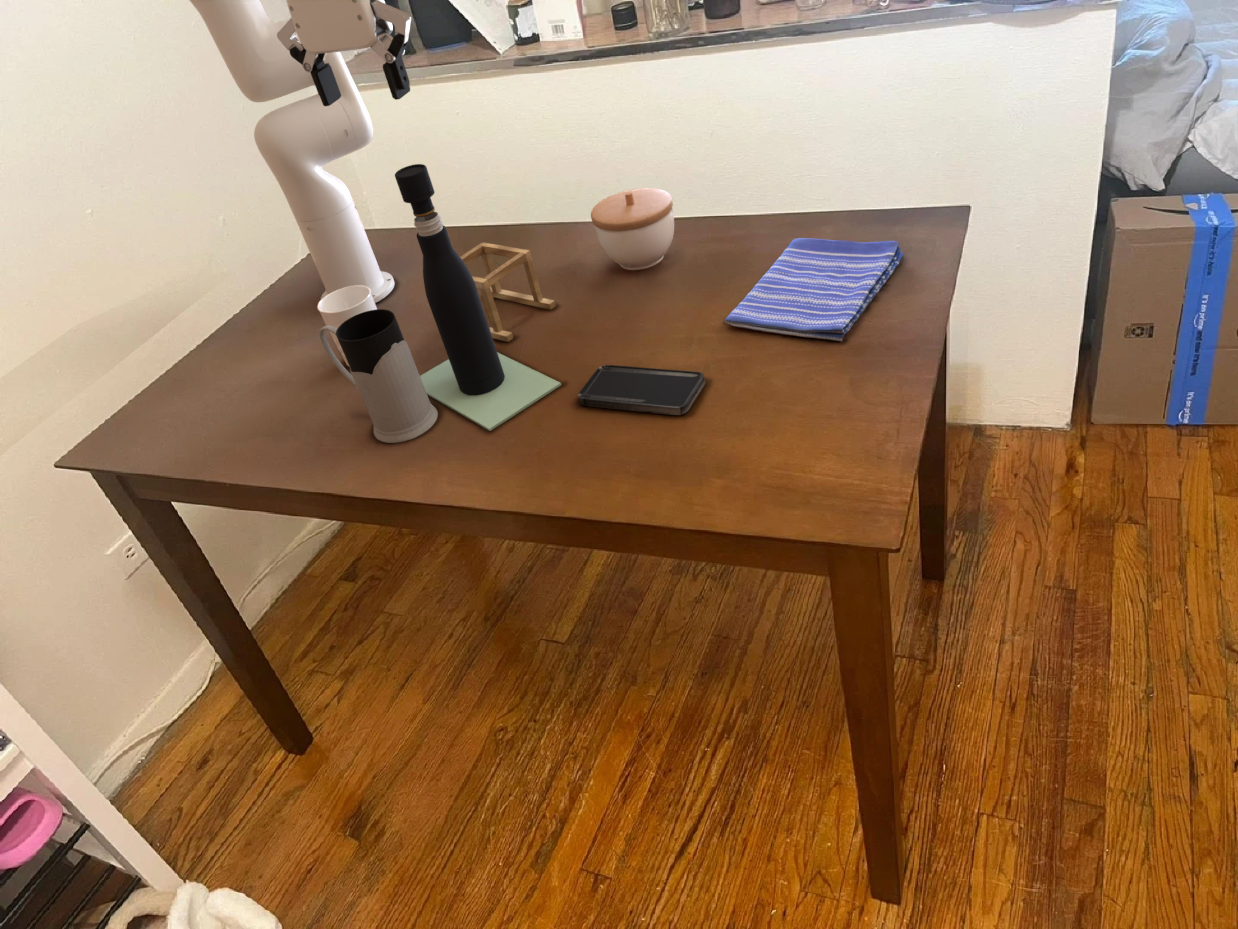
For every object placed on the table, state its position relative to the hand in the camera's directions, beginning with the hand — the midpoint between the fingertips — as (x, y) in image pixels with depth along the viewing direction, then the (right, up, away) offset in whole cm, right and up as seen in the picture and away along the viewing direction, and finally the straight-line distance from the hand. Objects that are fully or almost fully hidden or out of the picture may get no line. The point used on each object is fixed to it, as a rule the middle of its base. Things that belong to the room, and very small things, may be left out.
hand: (367, 98), depth 112 cm
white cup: (-8, -27, +31) cm, 42 cm away
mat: (+11, -32, +18) cm, 38 cm away
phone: (+32, -34, +8) cm, 48 cm away
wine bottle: (+11, -32, +18) cm, 38 cm away
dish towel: (+57, -19, +20) cm, 63 cm away
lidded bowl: (+33, -11, +39) cm, 52 cm away
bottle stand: (+11, -20, +33) cm, 40 cm away
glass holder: (-1, -37, +16) cm, 40 cm away
